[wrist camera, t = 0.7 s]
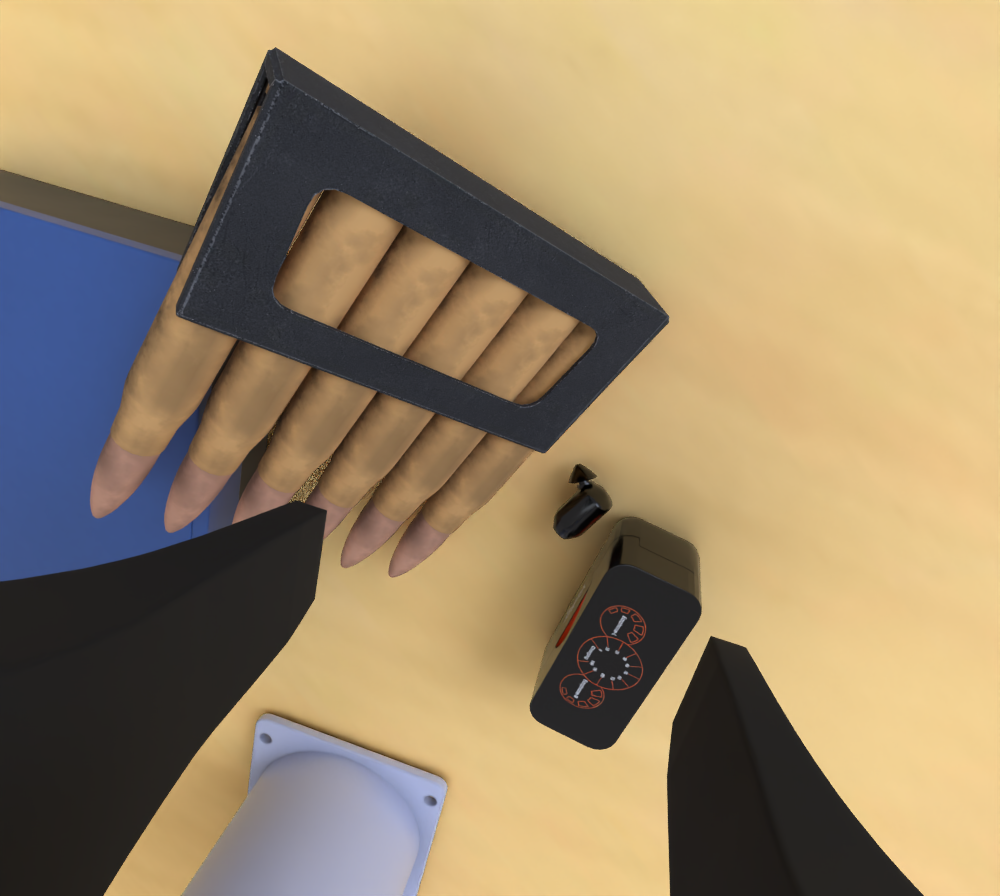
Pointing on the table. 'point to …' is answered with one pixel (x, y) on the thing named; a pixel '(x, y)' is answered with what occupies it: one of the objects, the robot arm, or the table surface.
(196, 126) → the table surface
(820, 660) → the table surface
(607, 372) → the ammunition clip
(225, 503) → the container
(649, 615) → the wireless earbuds
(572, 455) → the table surface
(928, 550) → the table surface
